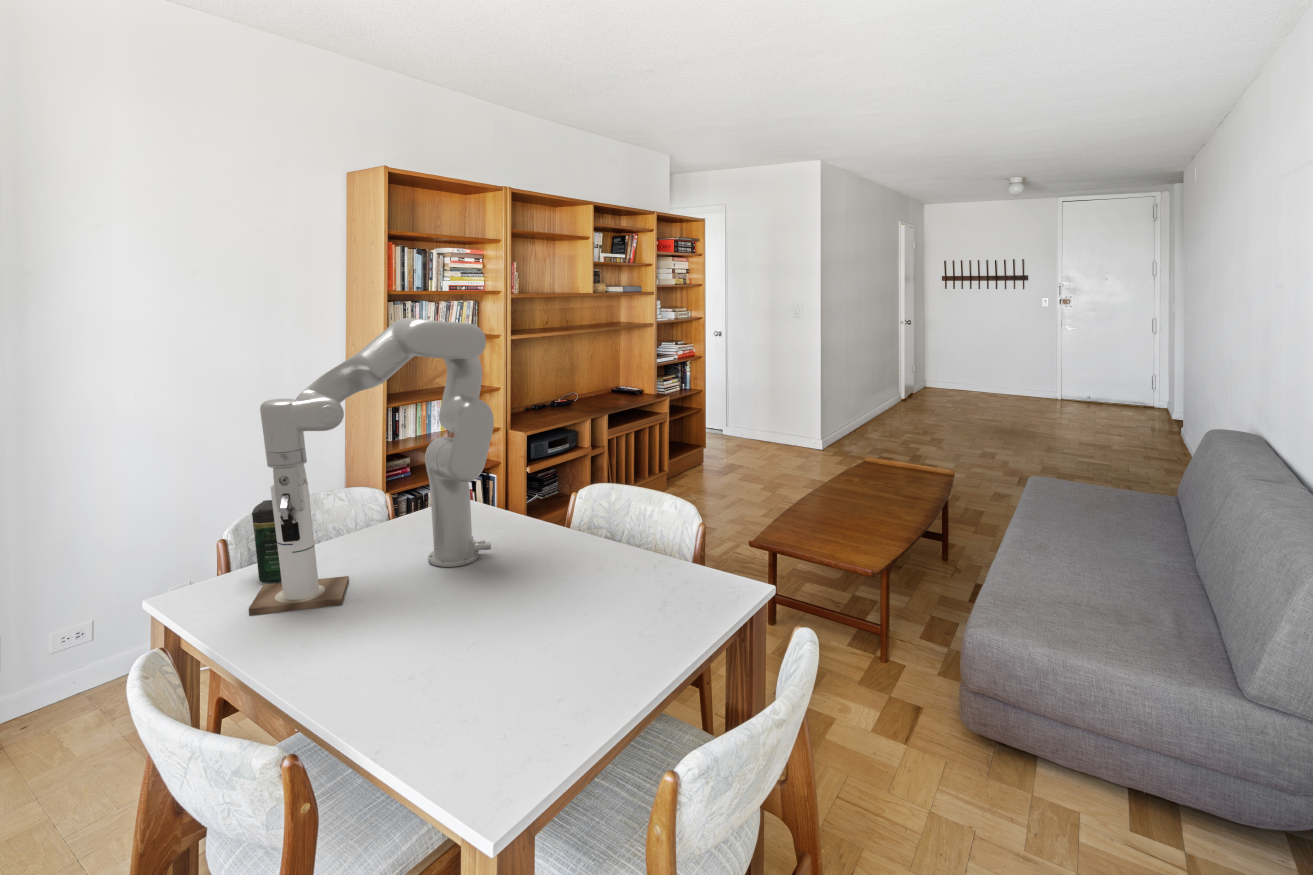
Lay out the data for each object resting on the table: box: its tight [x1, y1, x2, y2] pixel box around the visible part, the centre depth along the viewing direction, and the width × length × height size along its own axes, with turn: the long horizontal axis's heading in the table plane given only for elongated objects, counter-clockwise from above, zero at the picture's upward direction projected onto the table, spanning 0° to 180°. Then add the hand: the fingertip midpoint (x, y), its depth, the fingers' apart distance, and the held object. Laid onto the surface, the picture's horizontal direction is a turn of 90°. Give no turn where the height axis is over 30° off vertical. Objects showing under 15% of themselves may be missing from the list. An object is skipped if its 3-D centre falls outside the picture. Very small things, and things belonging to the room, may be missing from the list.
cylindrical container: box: [270, 480, 319, 600], centre depth 152 cm, size 7×7×25 cm
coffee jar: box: [251, 499, 282, 584], centre depth 166 cm, size 10×8×19 cm
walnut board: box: [248, 575, 350, 616], centre depth 156 cm, size 18×13×2 cm
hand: (296, 533), depth 152 cm, fingers open, 9 cm apart
